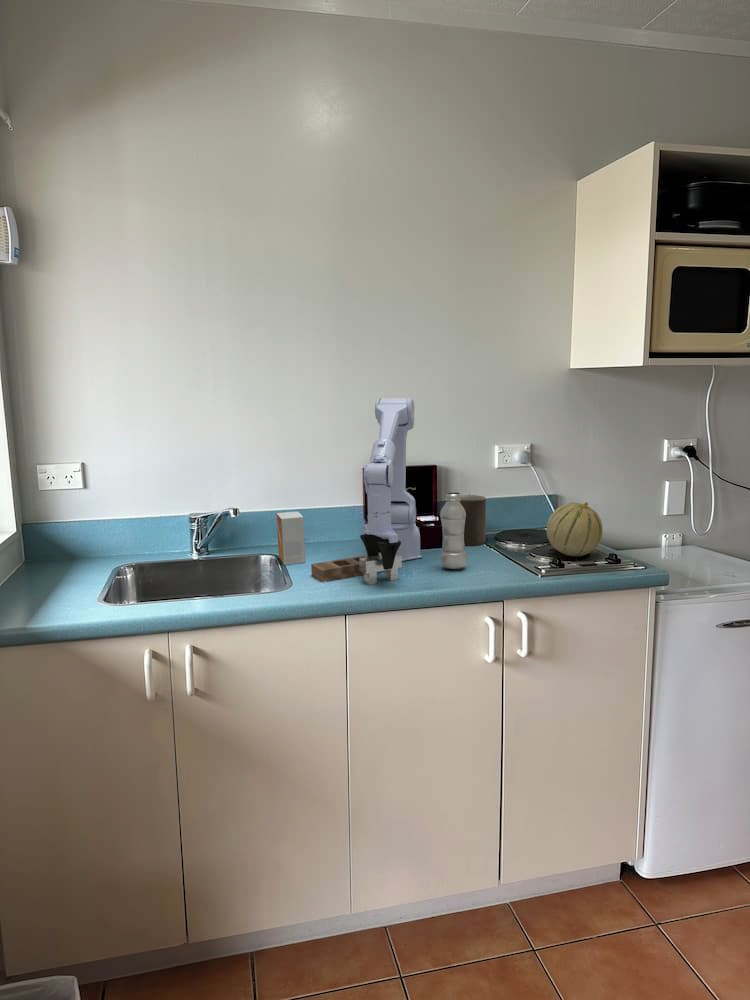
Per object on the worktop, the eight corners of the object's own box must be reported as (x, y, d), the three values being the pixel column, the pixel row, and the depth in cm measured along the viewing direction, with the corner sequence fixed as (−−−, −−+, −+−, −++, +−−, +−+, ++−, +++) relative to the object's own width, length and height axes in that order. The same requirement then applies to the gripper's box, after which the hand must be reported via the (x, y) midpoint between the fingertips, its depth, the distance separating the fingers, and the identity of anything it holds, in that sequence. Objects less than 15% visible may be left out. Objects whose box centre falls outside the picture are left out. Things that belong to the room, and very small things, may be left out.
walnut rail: (380, 563, 190) (379, 553, 189) (392, 569, 184) (392, 558, 183) (311, 575, 181) (311, 564, 180) (322, 582, 175) (322, 570, 174)
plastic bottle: (465, 572, 180) (465, 495, 176) (439, 571, 181) (438, 495, 177) (467, 565, 186) (467, 491, 182) (442, 564, 187) (441, 490, 184)
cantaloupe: (541, 548, 201) (542, 497, 198) (593, 548, 200) (595, 496, 198) (552, 563, 186) (553, 507, 184) (608, 562, 186) (610, 506, 183)
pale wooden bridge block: (395, 575, 179) (394, 552, 178) (402, 579, 176) (401, 555, 174) (359, 581, 174) (359, 558, 173) (366, 585, 171) (365, 561, 170)
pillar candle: (470, 547, 204) (471, 497, 201) (446, 542, 211) (446, 492, 209) (492, 542, 210) (493, 493, 208) (467, 536, 218) (468, 489, 215)
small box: (278, 558, 198) (275, 512, 196) (300, 555, 200) (298, 511, 198) (283, 565, 191) (280, 518, 188) (306, 562, 193) (304, 516, 190)
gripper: (351, 508, 176) (353, 561, 179) (379, 518, 163) (380, 574, 166) (376, 505, 179) (377, 557, 182) (405, 515, 167) (406, 570, 169)
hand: (380, 565), depth 174 cm, fingers open, 7 cm apart
